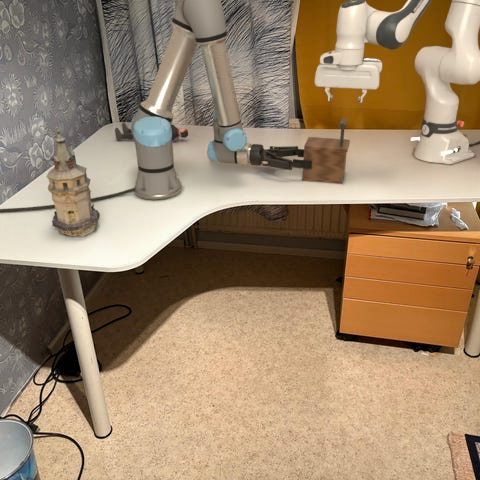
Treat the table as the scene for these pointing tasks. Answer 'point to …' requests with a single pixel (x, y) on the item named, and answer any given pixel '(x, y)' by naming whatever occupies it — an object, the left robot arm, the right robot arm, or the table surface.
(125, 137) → the toy
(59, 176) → the miniature building
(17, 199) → the table surface
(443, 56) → the right robot arm
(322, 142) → the lid
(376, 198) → the table surface
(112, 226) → the table surface
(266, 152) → the left robot arm
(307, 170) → the chest
